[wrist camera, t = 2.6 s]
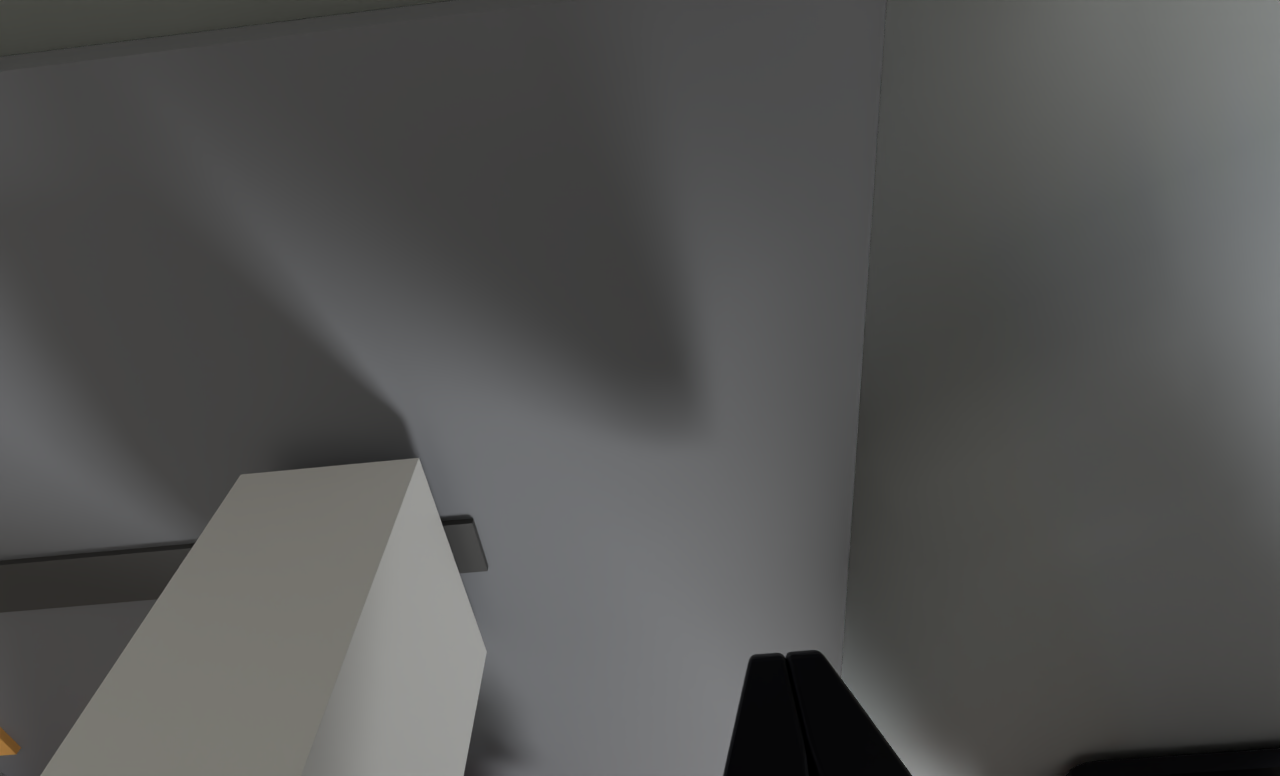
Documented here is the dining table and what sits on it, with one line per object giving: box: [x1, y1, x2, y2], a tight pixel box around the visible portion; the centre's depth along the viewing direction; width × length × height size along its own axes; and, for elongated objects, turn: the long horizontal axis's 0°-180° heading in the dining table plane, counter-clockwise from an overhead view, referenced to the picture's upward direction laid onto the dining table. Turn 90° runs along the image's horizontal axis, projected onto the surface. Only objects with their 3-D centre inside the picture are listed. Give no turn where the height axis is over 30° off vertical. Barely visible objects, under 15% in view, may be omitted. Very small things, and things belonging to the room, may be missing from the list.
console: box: [0, 0, 887, 776], centre depth 12 cm, size 22×16×4 cm
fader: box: [40, 458, 487, 776], centre depth 9 cm, size 2×4×5 cm, turn 6°
